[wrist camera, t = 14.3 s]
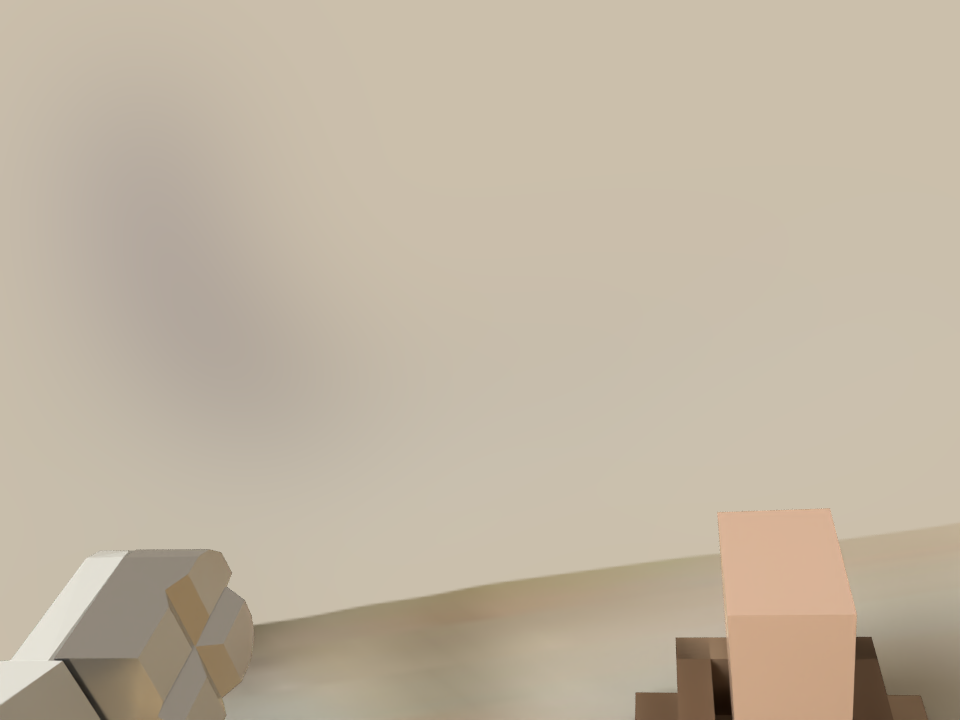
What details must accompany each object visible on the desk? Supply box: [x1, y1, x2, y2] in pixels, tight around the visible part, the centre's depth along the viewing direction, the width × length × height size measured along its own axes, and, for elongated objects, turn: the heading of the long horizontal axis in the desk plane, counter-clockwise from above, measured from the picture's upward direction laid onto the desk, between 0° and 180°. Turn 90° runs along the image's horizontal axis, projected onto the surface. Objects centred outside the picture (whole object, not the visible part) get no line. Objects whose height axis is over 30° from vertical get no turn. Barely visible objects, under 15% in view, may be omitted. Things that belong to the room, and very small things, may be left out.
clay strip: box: [717, 508, 857, 720], centre depth 34 cm, size 4×5×14 cm
